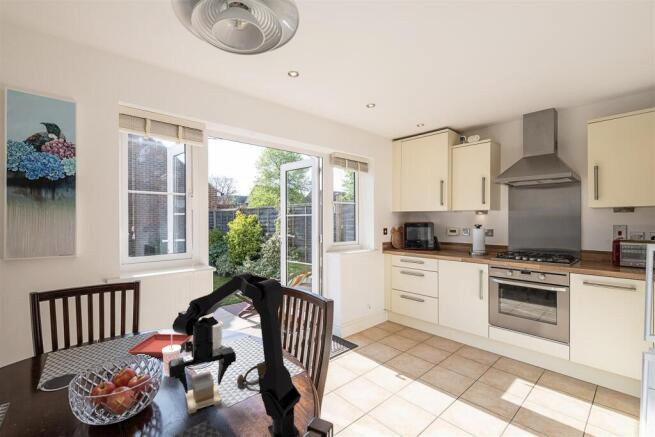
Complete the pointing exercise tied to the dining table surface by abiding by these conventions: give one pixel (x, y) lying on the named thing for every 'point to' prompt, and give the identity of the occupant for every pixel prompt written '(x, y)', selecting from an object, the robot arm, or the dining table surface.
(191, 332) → the robot arm
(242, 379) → the brown looped cylinder
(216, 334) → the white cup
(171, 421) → the dining table surface
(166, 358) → the beverage cup
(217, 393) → the cream slab
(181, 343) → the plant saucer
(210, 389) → the housing
